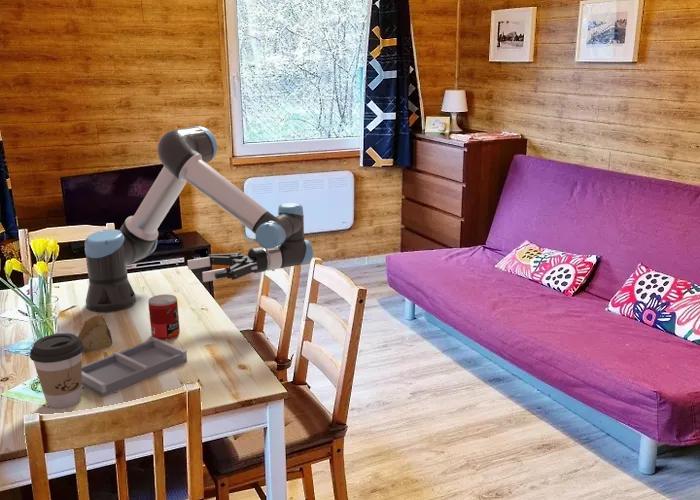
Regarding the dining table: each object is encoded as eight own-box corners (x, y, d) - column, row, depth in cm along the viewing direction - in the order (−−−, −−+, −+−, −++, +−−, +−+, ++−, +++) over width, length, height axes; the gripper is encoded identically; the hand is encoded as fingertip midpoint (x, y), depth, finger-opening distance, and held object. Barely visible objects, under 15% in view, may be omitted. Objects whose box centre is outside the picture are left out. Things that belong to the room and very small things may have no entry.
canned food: (172, 341, 182) (169, 304, 179) (146, 339, 184) (142, 302, 181) (184, 330, 189) (181, 295, 186) (159, 328, 191) (156, 293, 188)
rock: (67, 352, 170) (106, 344, 172) (63, 321, 173) (102, 313, 175) (79, 360, 180) (116, 352, 182) (75, 331, 183) (112, 323, 185)
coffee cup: (51, 419, 143) (41, 356, 138) (28, 402, 150) (19, 342, 146) (100, 399, 151) (92, 340, 147) (76, 384, 158) (68, 327, 154)
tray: (72, 379, 161) (70, 368, 160) (155, 347, 178) (154, 337, 178) (102, 396, 152) (101, 385, 151) (187, 361, 170) (186, 350, 169)
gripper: (281, 281, 187) (210, 295, 177) (248, 260, 208) (183, 272, 198) (280, 256, 185) (208, 269, 175) (247, 238, 206) (181, 248, 196)
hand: (195, 270), depth 186 cm, fingers open, 13 cm apart
